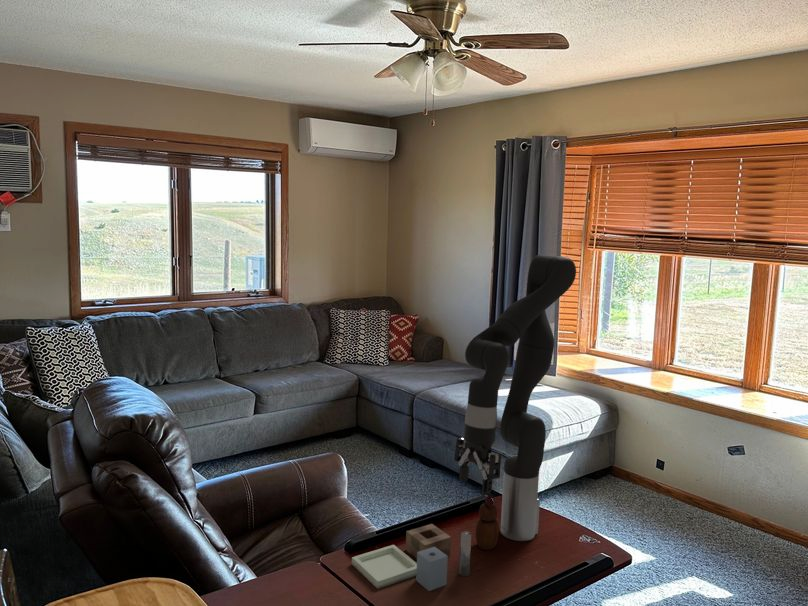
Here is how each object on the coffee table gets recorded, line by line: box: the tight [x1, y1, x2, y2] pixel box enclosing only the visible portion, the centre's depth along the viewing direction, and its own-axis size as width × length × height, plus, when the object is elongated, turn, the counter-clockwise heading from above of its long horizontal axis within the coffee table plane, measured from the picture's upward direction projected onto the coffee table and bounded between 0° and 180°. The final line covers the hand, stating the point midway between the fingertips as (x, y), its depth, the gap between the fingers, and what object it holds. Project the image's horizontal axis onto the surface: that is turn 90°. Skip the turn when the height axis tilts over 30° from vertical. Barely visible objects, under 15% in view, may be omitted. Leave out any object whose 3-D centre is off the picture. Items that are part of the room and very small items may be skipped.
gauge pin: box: [458, 530, 472, 577], centre depth 151 cm, size 2×2×10 cm
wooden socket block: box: [405, 523, 452, 560], centre depth 160 cm, size 8×8×5 cm
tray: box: [351, 544, 417, 590], centre depth 153 cm, size 12×12×2 cm
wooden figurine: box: [475, 492, 499, 551], centre depth 164 cm, size 7×6×15 cm
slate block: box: [415, 547, 449, 592], centre depth 147 cm, size 5×5×7 cm
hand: (474, 487), depth 156 cm, fingers open, 8 cm apart
